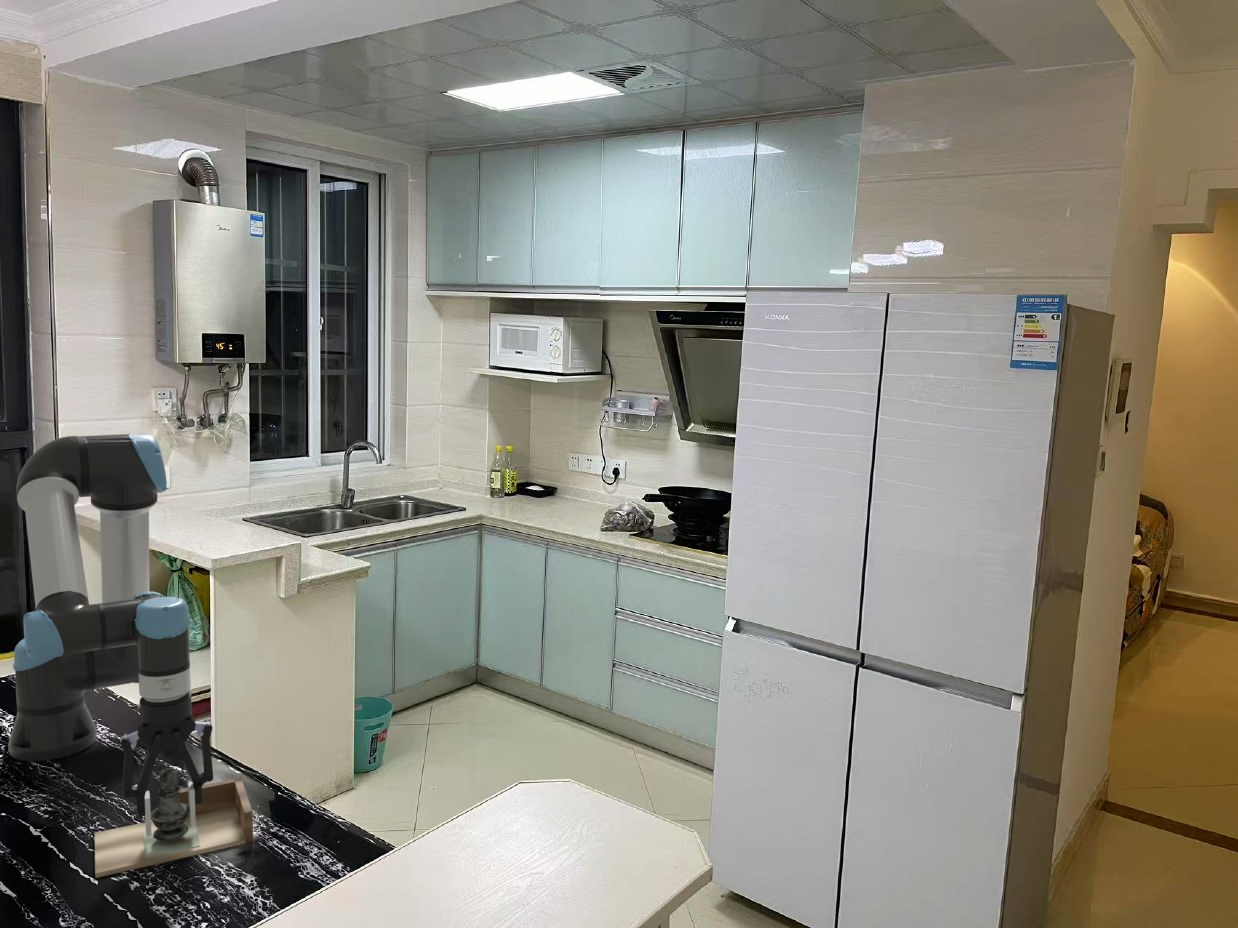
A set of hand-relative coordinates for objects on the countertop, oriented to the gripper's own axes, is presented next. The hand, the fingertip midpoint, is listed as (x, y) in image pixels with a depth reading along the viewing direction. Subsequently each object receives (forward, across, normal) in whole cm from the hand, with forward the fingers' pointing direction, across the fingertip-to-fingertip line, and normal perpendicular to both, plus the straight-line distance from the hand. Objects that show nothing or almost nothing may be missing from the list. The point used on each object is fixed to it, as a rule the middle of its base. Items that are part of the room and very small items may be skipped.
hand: (170, 827), depth 153 cm
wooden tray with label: (+3, 0, +1) cm, 3 cm away
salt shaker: (+1, 0, 0) cm, 1 cm away
